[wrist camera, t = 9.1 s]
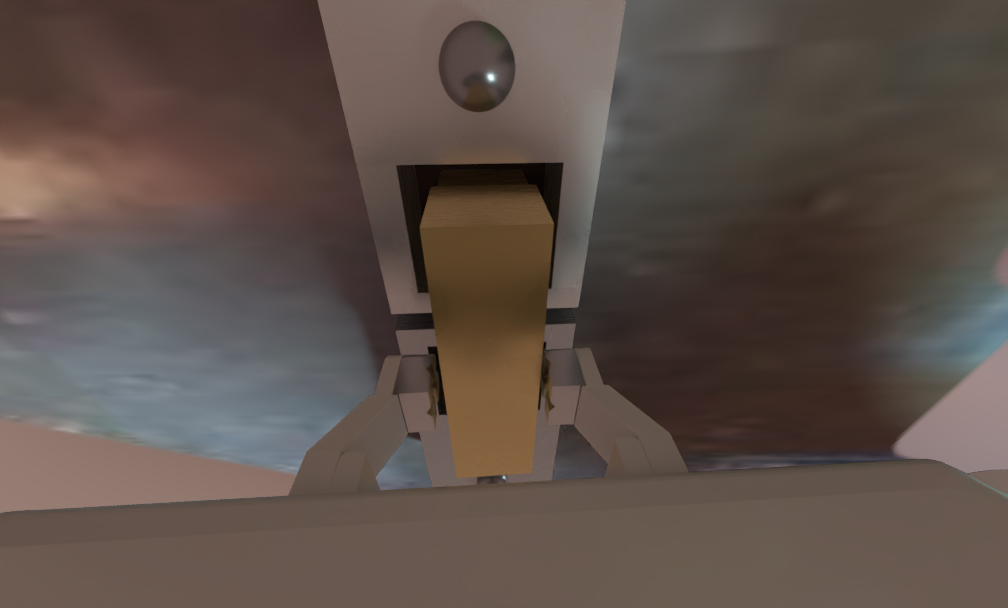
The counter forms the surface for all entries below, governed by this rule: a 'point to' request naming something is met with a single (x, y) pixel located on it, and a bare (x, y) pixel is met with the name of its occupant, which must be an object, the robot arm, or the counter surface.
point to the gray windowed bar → (475, 143)
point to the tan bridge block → (489, 312)
